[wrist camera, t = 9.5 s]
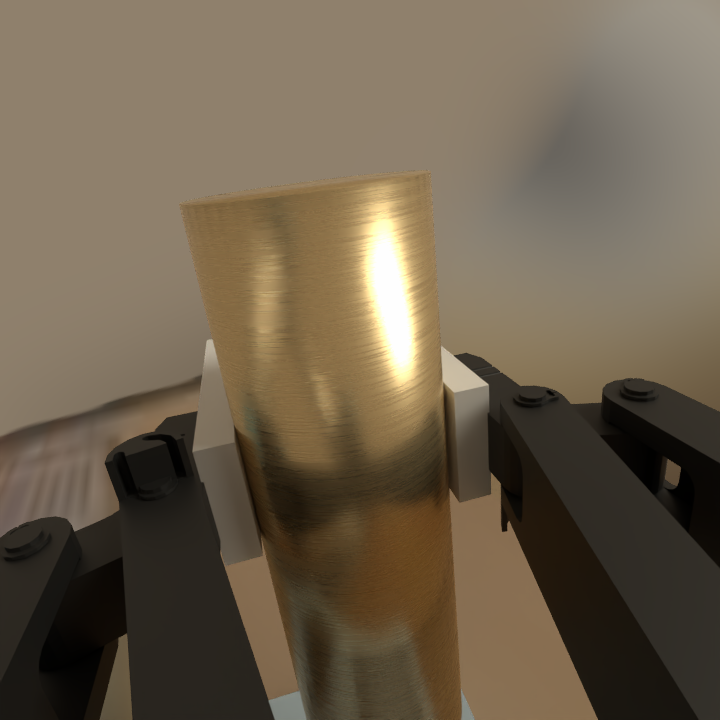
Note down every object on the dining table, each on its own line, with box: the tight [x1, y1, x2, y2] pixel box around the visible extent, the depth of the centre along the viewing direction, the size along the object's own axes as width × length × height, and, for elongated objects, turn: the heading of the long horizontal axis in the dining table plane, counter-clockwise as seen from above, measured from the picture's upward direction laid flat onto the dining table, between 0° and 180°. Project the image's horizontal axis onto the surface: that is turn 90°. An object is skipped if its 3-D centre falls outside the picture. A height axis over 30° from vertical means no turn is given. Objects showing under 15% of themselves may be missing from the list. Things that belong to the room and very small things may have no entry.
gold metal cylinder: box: [179, 170, 462, 720], centre depth 11 cm, size 4×4×14 cm
